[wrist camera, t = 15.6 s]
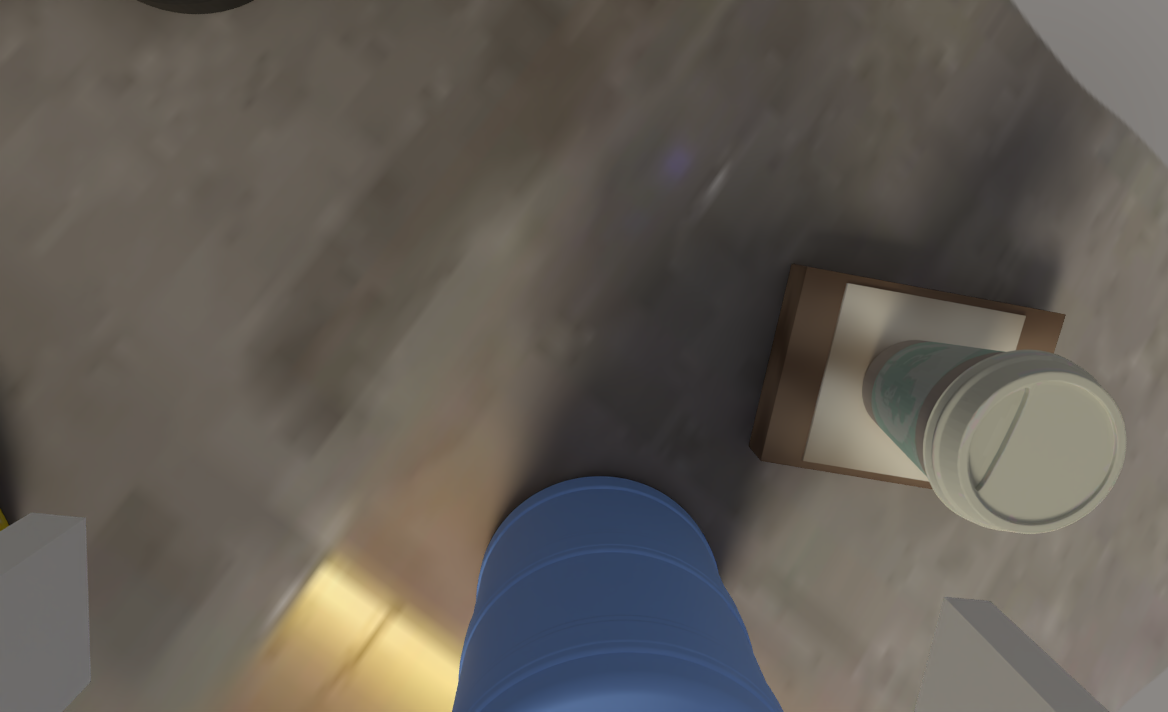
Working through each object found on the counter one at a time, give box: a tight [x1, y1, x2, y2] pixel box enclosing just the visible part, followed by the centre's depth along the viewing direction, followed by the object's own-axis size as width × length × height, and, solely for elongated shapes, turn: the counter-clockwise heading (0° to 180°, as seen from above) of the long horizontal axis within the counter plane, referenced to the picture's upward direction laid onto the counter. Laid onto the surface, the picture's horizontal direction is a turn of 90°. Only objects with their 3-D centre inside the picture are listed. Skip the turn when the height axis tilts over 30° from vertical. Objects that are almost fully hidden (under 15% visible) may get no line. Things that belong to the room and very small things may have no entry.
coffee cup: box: [862, 340, 1126, 534], centre depth 36 cm, size 8×9×12 cm
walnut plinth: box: [749, 264, 1066, 489], centre depth 44 cm, size 12×16×3 cm
